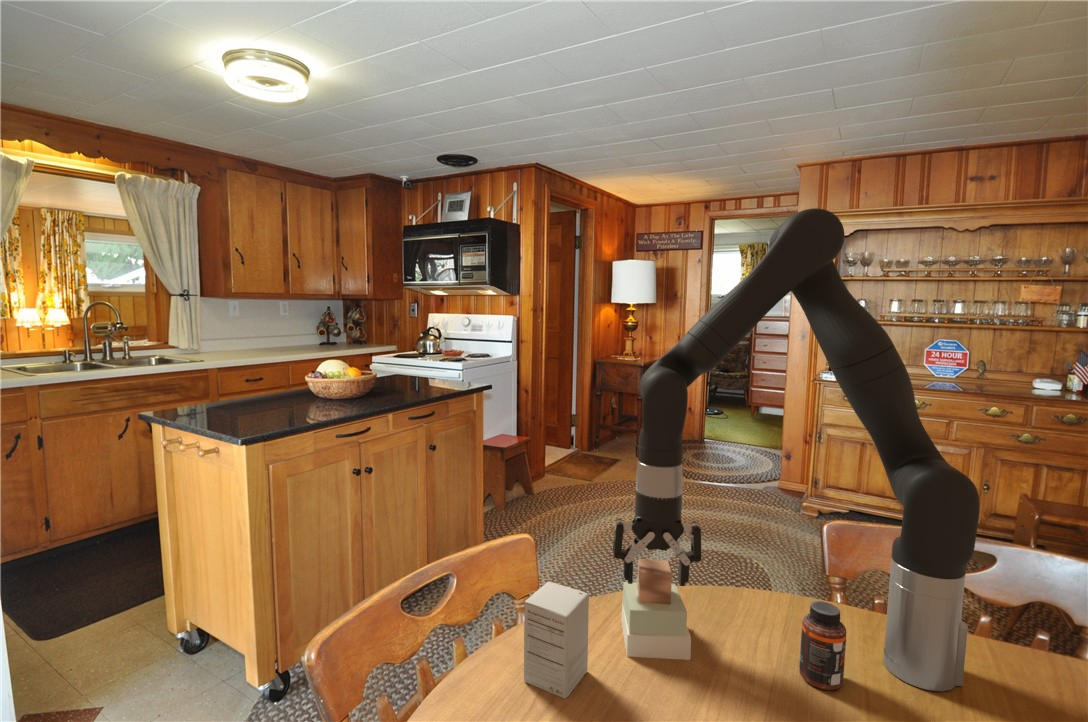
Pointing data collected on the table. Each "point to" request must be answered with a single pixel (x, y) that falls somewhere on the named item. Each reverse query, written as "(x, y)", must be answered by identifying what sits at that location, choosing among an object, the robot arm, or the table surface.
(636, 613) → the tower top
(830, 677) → the supplement bottle
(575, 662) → the supplement box
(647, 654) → the tower base
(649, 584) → the terracotta cube
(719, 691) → the table surface
